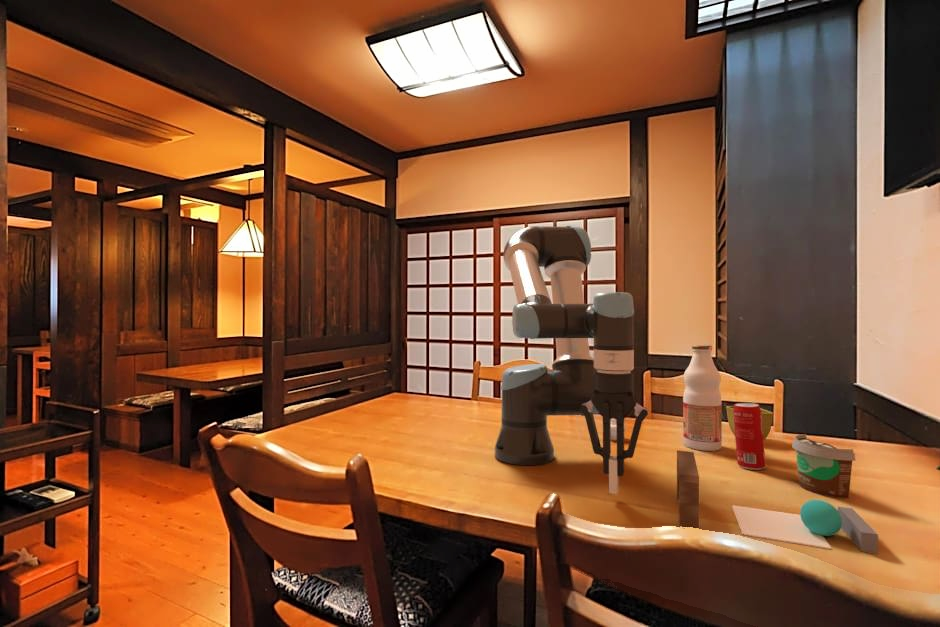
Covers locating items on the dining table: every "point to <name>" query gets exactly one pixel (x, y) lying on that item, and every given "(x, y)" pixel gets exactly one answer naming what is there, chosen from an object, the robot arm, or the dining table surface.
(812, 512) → the ball
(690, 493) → the grey brown rectangular block
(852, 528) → the wall
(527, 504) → the dining table surface
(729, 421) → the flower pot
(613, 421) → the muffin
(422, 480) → the dining table surface
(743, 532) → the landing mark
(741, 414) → the beverage can
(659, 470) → the dining table surface
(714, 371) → the fruit juice
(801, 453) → the food container
